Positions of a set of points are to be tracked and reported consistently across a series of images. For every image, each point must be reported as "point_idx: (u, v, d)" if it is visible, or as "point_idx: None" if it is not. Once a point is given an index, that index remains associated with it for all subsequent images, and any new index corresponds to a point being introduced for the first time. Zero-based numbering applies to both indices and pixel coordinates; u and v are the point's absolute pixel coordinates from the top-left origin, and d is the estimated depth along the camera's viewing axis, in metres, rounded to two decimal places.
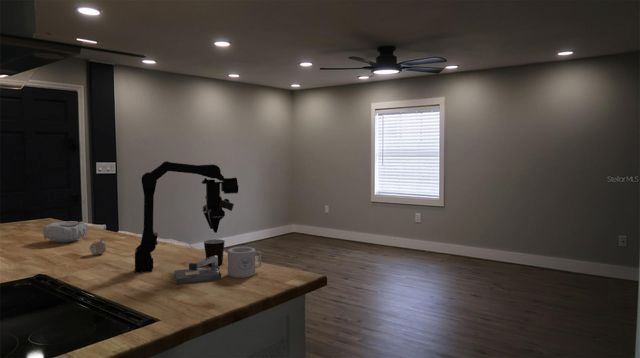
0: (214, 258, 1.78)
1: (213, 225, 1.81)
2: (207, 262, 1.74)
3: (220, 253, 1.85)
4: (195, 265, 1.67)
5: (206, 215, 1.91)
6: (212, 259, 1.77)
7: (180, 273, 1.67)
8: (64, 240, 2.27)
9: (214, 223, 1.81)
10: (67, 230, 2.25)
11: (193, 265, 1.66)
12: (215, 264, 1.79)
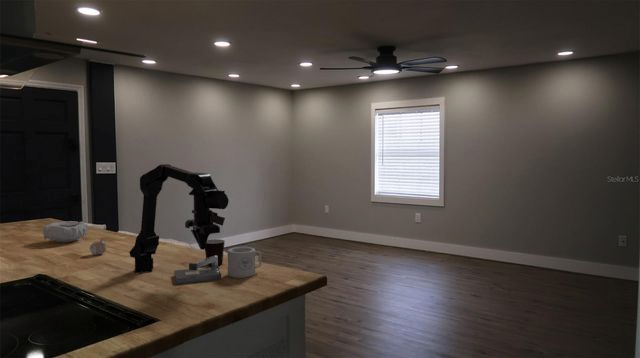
0: (214, 258, 1.78)
1: (201, 241, 1.62)
2: (207, 262, 1.74)
3: (220, 253, 1.85)
4: (195, 265, 1.67)
5: (195, 233, 1.63)
6: (212, 259, 1.77)
7: (180, 273, 1.67)
8: (64, 240, 2.27)
9: (202, 239, 1.62)
10: (67, 230, 2.25)
11: (193, 265, 1.66)
12: (215, 264, 1.79)
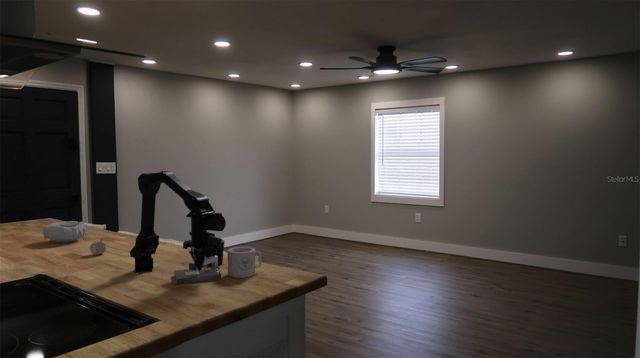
0: (214, 258, 1.78)
1: (198, 263, 1.65)
2: (207, 262, 1.74)
3: (220, 253, 1.85)
4: (195, 265, 1.67)
5: None
6: (212, 259, 1.77)
7: (180, 273, 1.67)
8: (64, 240, 2.27)
9: (199, 260, 1.65)
10: (67, 230, 2.25)
11: (193, 265, 1.66)
12: (215, 264, 1.79)
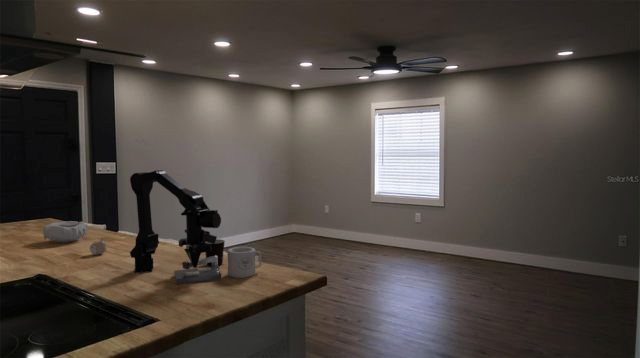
0: (213, 258, 1.78)
1: (193, 259, 1.68)
2: (204, 262, 1.75)
3: (220, 253, 1.85)
4: (188, 264, 1.68)
5: (189, 252, 1.69)
6: (210, 259, 1.77)
7: (180, 273, 1.67)
8: (64, 240, 2.27)
9: (194, 257, 1.68)
10: (67, 230, 2.25)
11: (186, 264, 1.68)
12: (214, 264, 1.79)
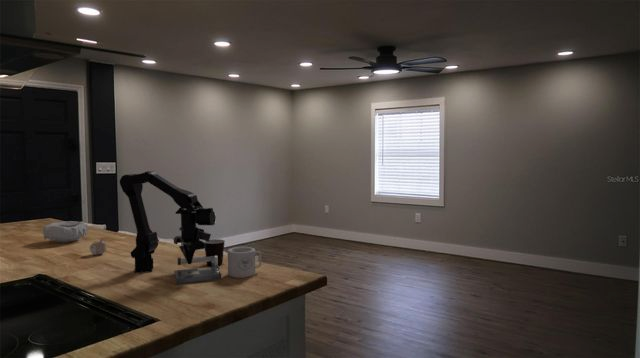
0: (211, 258, 1.79)
1: (188, 256, 1.73)
2: (199, 260, 1.77)
3: (220, 253, 1.85)
4: (179, 260, 1.74)
5: None
6: (208, 258, 1.78)
7: (180, 273, 1.67)
8: (64, 240, 2.27)
9: (189, 254, 1.73)
10: (67, 230, 2.25)
11: None
12: (213, 264, 1.79)
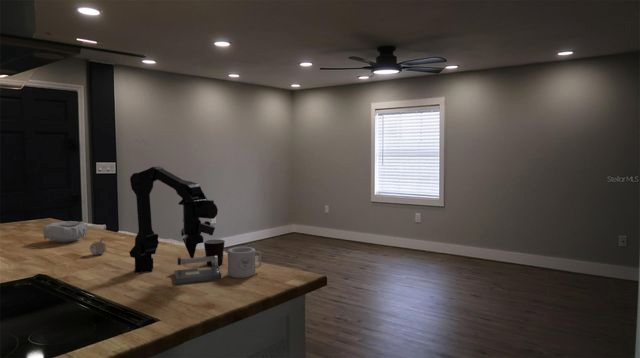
0: (211, 258, 1.79)
1: (189, 250, 1.65)
2: (199, 260, 1.77)
3: (220, 253, 1.85)
4: (179, 260, 1.74)
5: None
6: (208, 258, 1.78)
7: (180, 273, 1.67)
8: (64, 240, 2.27)
9: (190, 248, 1.65)
10: (67, 230, 2.25)
11: None
12: (213, 264, 1.79)
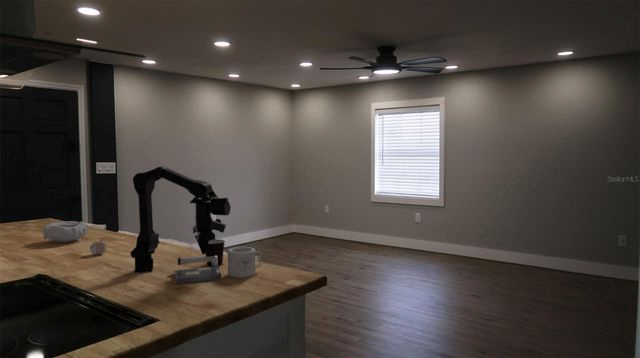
0: (211, 258, 1.79)
1: (201, 246, 1.71)
2: (199, 260, 1.77)
3: (220, 253, 1.85)
4: (179, 260, 1.74)
5: None
6: (208, 258, 1.78)
7: (180, 273, 1.67)
8: (64, 240, 2.27)
9: (202, 244, 1.71)
10: (67, 230, 2.25)
11: None
12: (213, 264, 1.79)
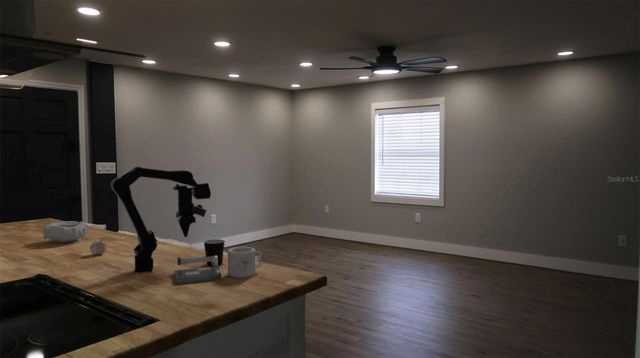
0: (211, 258, 1.79)
1: (183, 229, 1.85)
2: (199, 260, 1.77)
3: (220, 253, 1.85)
4: (179, 260, 1.74)
5: None
6: (208, 258, 1.78)
7: (180, 273, 1.67)
8: (64, 240, 2.27)
9: (184, 228, 1.85)
10: (67, 230, 2.25)
11: None
12: (213, 264, 1.79)
